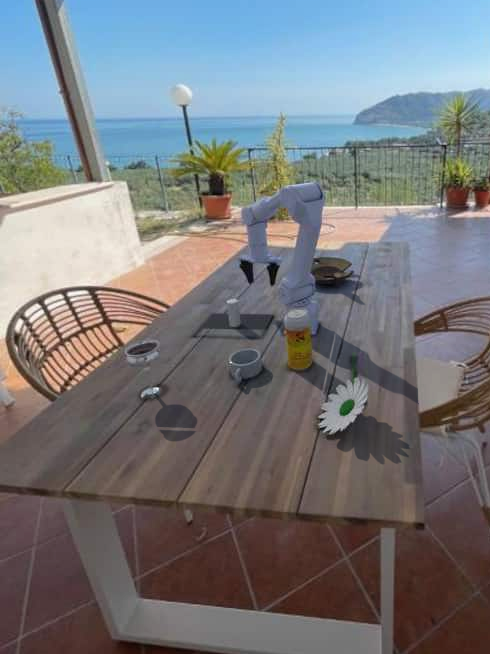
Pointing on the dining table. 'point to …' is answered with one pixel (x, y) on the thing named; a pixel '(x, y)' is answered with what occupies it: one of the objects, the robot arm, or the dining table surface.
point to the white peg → (233, 312)
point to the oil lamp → (330, 270)
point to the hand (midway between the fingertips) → (262, 283)
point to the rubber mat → (246, 320)
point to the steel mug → (245, 364)
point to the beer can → (298, 338)
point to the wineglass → (144, 359)
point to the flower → (344, 404)
